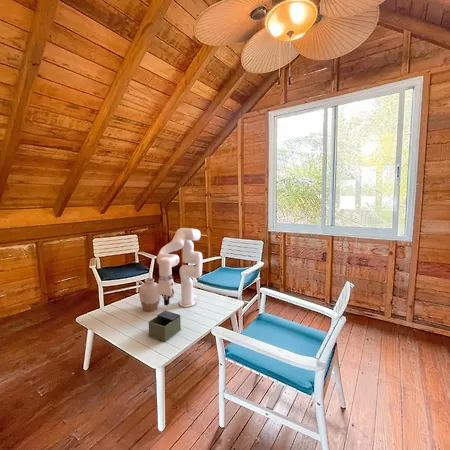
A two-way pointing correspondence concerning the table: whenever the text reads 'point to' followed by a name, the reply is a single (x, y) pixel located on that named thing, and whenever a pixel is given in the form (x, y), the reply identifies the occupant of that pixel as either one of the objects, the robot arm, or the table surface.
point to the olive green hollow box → (163, 328)
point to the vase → (149, 295)
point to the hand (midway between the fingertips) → (166, 304)
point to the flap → (168, 315)
